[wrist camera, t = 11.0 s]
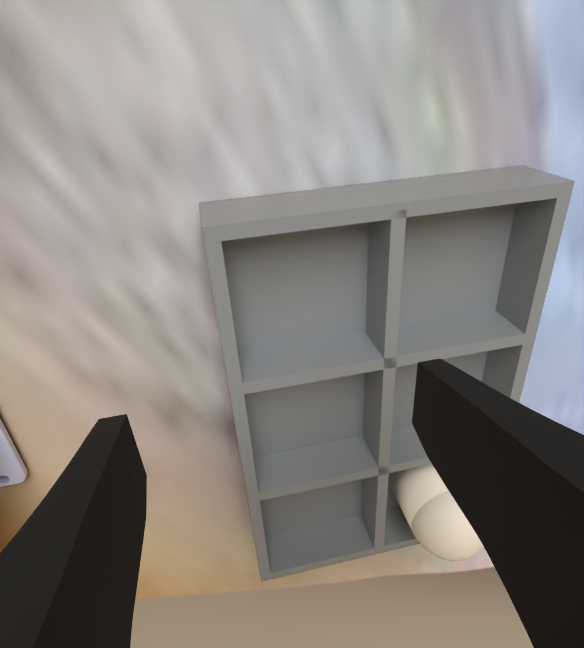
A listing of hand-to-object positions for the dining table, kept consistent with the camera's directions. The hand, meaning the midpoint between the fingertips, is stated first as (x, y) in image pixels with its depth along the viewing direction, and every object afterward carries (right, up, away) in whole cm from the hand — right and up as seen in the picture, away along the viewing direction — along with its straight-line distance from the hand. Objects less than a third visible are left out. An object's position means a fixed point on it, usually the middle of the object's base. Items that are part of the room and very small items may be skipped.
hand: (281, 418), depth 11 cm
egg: (+8, -7, +17) cm, 20 cm away
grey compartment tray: (+4, -1, +14) cm, 14 cm away
